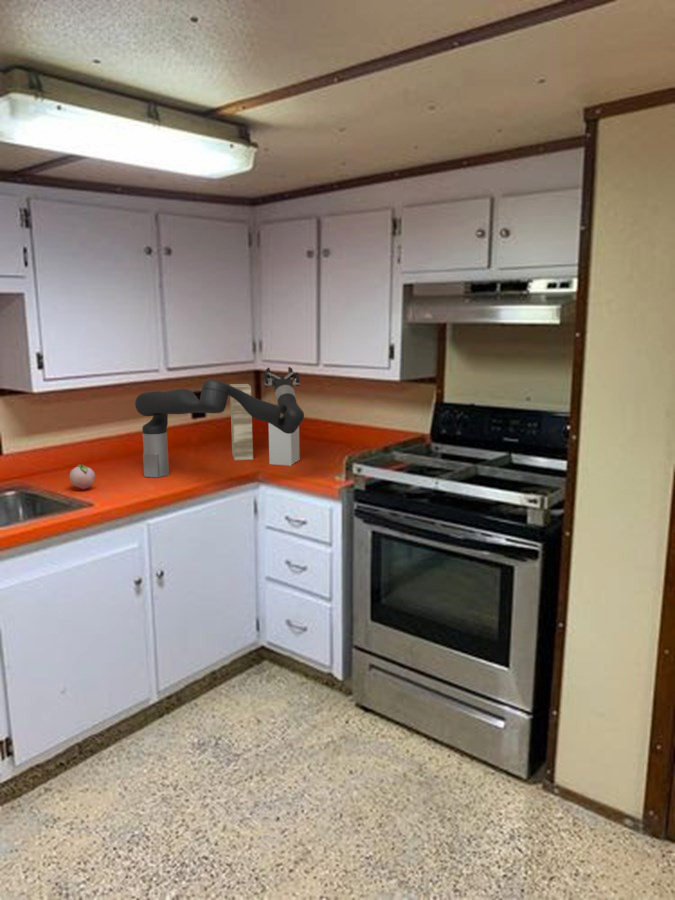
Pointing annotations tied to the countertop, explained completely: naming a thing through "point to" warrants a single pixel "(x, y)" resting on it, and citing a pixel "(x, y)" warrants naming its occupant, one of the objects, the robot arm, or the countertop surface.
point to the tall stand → (241, 427)
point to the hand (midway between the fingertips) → (278, 369)
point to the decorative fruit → (82, 476)
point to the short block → (283, 446)
